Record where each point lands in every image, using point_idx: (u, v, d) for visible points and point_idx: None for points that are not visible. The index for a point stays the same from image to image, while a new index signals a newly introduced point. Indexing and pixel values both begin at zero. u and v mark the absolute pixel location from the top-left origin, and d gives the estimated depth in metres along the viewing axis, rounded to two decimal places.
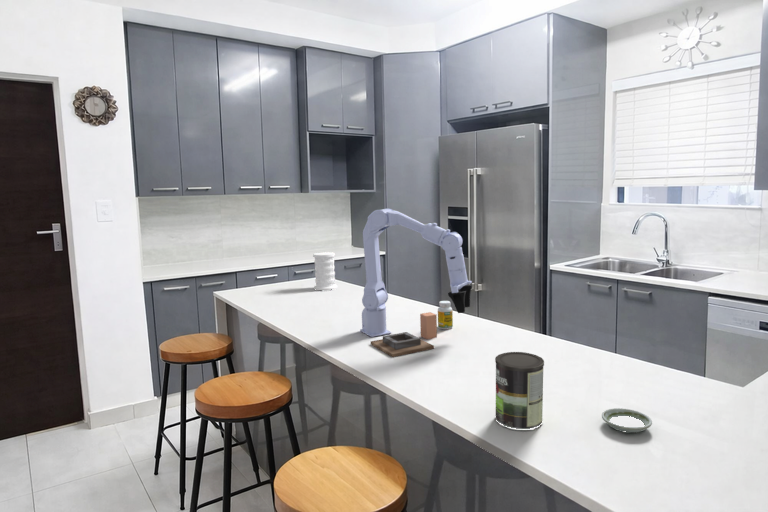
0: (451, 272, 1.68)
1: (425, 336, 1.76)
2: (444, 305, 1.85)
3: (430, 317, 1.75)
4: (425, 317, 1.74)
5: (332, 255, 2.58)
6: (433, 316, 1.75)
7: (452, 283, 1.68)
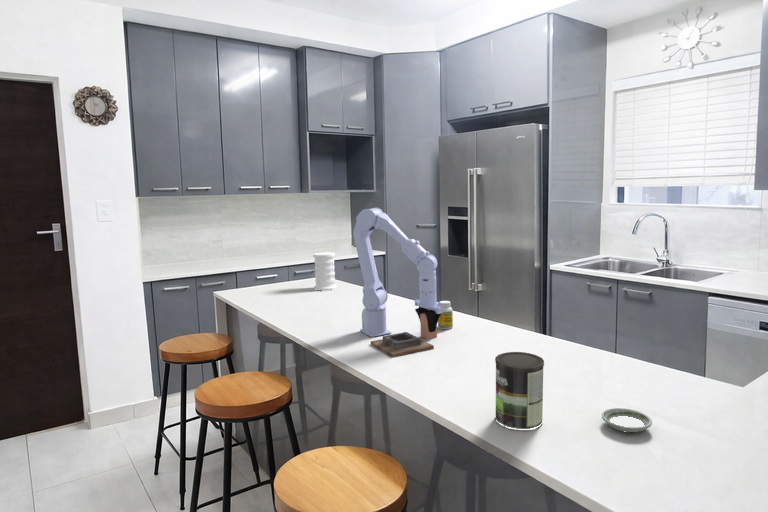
0: (428, 294, 1.72)
1: (425, 336, 1.76)
2: (444, 305, 1.85)
3: None
4: (425, 317, 1.74)
5: (332, 255, 2.58)
6: None
7: (427, 304, 1.73)
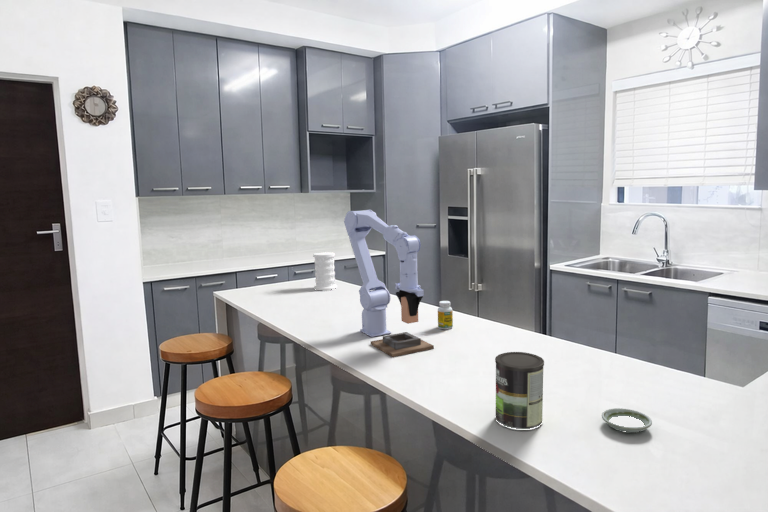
0: (409, 276, 1.65)
1: (406, 320, 1.68)
2: (444, 305, 1.85)
3: None
4: (406, 300, 1.67)
5: (332, 255, 2.58)
6: None
7: (408, 287, 1.65)
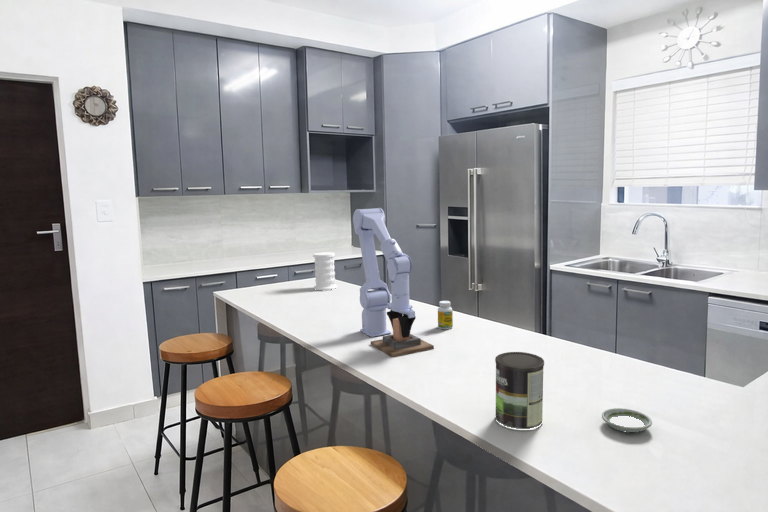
0: (400, 296, 1.63)
1: None
2: (444, 305, 1.85)
3: None
4: (397, 323, 1.65)
5: (332, 255, 2.58)
6: None
7: (399, 308, 1.63)
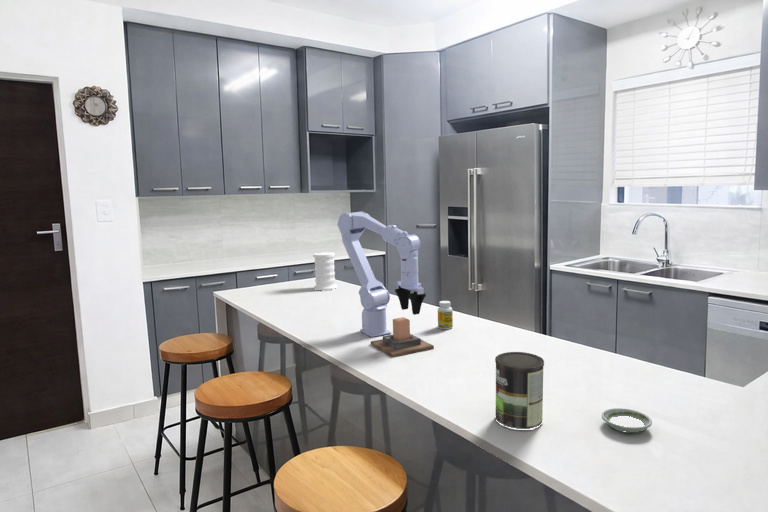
0: (410, 274, 1.68)
1: None
2: (444, 305, 1.85)
3: (403, 323, 1.65)
4: (397, 323, 1.65)
5: (332, 255, 2.58)
6: (406, 321, 1.65)
7: (408, 285, 1.69)
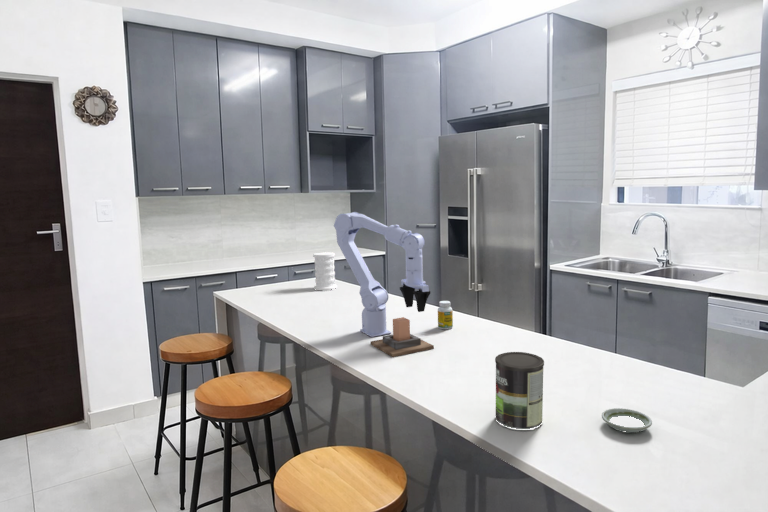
0: (415, 272, 1.71)
1: None
2: (444, 305, 1.85)
3: (403, 323, 1.65)
4: (397, 323, 1.65)
5: (332, 255, 2.58)
6: (406, 321, 1.65)
7: (413, 283, 1.72)
